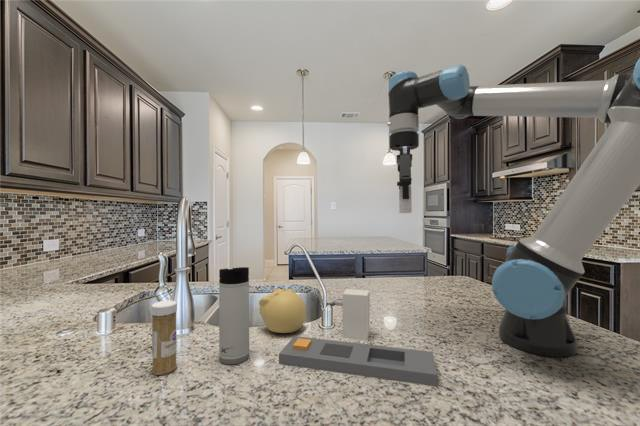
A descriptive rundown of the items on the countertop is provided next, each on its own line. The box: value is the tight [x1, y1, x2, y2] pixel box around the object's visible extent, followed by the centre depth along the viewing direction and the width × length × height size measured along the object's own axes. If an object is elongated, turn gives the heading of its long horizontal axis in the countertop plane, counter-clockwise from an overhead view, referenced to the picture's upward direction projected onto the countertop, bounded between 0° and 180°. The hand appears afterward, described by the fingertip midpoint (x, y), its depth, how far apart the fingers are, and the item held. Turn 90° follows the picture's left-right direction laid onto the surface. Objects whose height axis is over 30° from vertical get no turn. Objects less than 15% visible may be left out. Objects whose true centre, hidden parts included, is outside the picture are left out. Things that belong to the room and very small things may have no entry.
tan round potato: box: [258, 288, 307, 334], centre depth 81 cm, size 12×12×11 cm
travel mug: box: [218, 266, 250, 365], centre depth 65 cm, size 6×7×20 cm
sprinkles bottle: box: [150, 300, 178, 376], centre depth 60 cm, size 5×5×14 cm
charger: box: [334, 288, 371, 341], centre depth 75 cm, size 8×5×11 cm, turn 74°
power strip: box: [278, 335, 438, 387], centre depth 61 cm, size 30×9×4 cm, turn 74°
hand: (405, 213), depth 80 cm, fingers open, 13 cm apart
